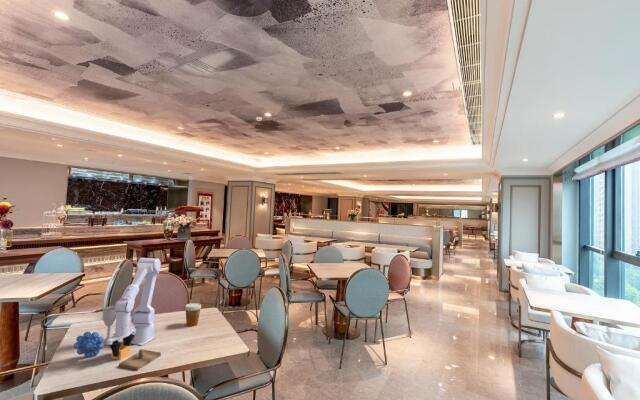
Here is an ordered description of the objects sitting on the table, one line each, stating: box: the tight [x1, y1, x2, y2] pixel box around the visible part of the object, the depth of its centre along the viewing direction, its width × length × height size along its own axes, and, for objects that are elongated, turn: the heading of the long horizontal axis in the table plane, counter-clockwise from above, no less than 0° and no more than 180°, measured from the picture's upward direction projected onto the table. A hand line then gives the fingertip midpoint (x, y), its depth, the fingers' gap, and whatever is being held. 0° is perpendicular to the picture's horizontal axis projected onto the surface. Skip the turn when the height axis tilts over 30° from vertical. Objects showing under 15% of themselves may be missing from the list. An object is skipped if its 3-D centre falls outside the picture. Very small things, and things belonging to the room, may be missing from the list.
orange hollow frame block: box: [111, 344, 131, 361], centre depth 143 cm, size 5×5×4 cm
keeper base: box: [118, 348, 162, 371], centre depth 140 cm, size 14×10×5 cm
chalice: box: [101, 305, 116, 346], centre depth 156 cm, size 7×7×18 cm
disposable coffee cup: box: [184, 302, 202, 327], centre depth 184 cm, size 10×10×12 cm
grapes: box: [73, 331, 105, 358], centre depth 141 cm, size 12×7×12 cm, turn 126°
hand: (120, 353), depth 143 cm, fingers closed on orange hollow frame block, 5 cm apart
